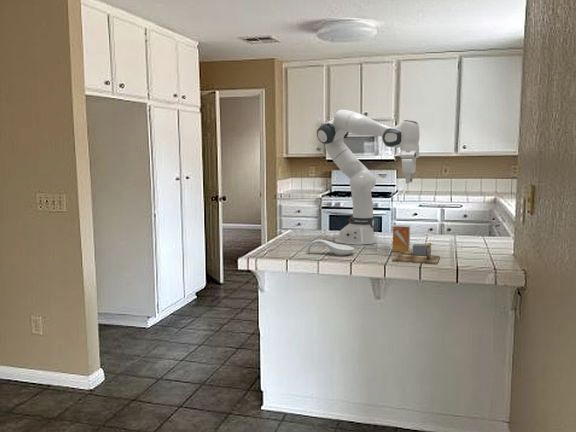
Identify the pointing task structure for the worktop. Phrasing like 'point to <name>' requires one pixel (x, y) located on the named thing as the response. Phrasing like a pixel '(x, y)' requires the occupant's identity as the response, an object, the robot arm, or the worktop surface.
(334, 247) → the spoon rest
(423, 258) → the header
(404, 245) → the small box
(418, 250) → the grey block
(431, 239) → the worktop surface
